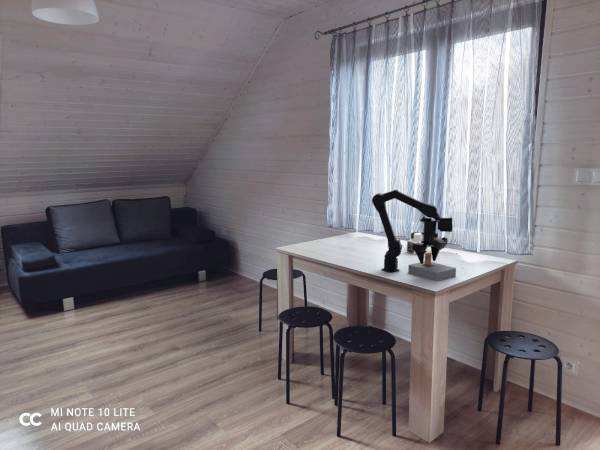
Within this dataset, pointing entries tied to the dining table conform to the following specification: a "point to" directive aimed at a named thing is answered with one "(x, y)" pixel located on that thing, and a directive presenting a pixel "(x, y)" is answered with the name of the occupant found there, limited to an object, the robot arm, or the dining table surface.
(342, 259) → the dining table surface
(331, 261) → the dining table surface
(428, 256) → the terracotta peg
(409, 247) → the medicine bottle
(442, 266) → the hole block
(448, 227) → the robot arm
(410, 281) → the dining table surface
